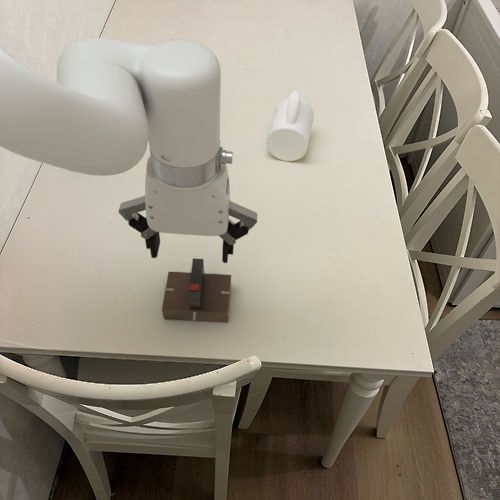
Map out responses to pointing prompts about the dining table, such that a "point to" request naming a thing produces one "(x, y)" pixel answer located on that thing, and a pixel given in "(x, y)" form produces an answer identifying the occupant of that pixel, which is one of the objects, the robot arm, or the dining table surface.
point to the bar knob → (196, 283)
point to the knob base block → (212, 298)
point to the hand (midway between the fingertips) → (190, 252)
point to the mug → (290, 128)
